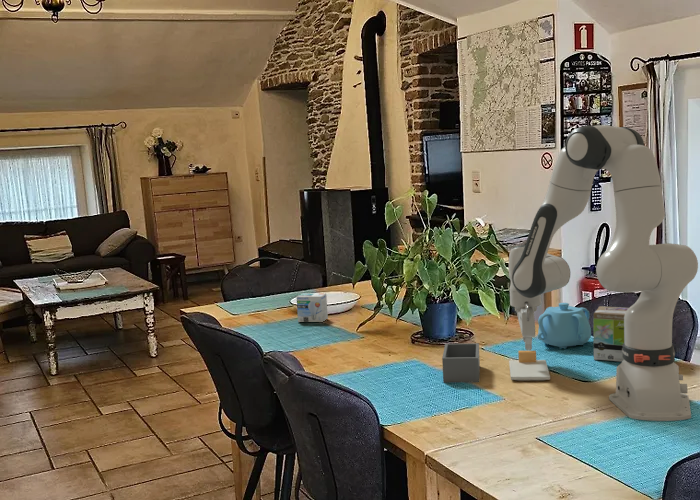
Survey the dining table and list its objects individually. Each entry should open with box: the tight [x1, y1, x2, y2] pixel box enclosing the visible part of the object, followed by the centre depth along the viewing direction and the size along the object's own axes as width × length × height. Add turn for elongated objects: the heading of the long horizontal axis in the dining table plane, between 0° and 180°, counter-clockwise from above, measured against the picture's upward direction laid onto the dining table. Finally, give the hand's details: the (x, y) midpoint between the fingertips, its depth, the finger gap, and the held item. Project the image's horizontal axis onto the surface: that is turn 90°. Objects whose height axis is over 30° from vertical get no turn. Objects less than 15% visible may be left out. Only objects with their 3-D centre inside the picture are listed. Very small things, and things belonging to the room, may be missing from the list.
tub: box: [441, 342, 481, 384], centre depth 223 cm, size 16×10×7 cm, turn 170°
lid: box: [508, 350, 551, 381], centre depth 220 cm, size 17×11×5 cm, turn 170°
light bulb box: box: [296, 292, 329, 323], centre depth 305 cm, size 11×7×11 cm, turn 73°
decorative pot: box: [537, 302, 592, 349], centre depth 248 cm, size 16×16×14 cm
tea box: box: [592, 305, 629, 363], centre depth 228 cm, size 15×10×15 cm
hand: (527, 345), depth 225 cm, fingers open, 8 cm apart
